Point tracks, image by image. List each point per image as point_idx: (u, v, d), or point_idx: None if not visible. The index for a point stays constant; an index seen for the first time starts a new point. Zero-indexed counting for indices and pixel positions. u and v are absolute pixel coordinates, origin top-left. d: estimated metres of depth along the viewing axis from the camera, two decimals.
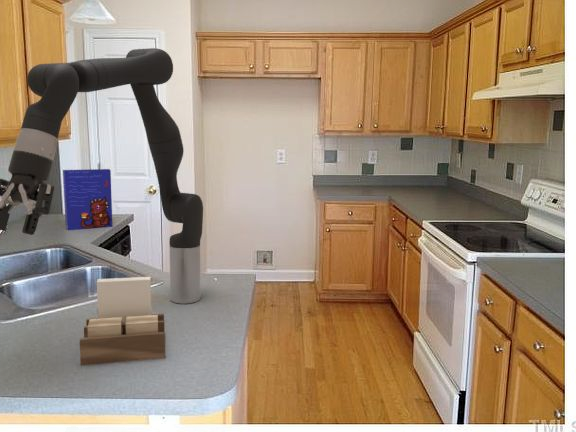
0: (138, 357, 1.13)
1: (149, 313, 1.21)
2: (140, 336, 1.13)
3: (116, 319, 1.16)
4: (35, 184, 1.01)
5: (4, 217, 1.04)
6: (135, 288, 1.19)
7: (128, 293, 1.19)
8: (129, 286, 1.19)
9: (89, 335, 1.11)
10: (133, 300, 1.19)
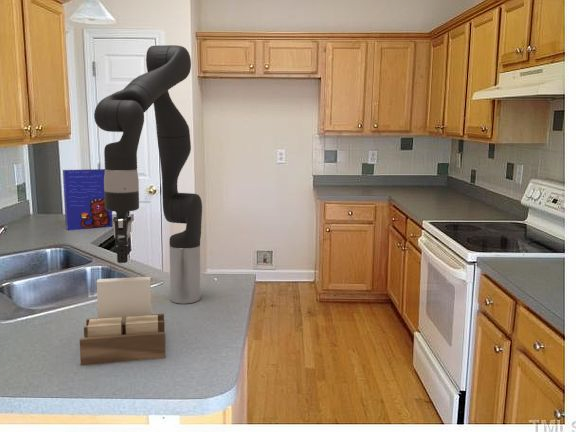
0: (138, 357, 1.13)
1: (149, 313, 1.21)
2: (140, 336, 1.13)
3: (116, 319, 1.16)
4: (117, 219, 1.13)
5: None
6: (135, 288, 1.19)
7: (128, 293, 1.19)
8: (129, 286, 1.19)
9: (89, 335, 1.11)
10: (133, 300, 1.19)
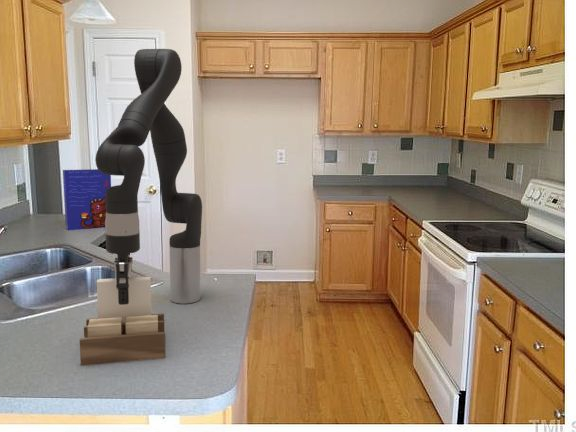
0: (138, 357, 1.13)
1: (149, 313, 1.21)
2: (140, 336, 1.13)
3: (116, 319, 1.16)
4: (118, 262, 1.14)
5: None
6: (135, 288, 1.19)
7: None
8: (129, 286, 1.19)
9: (89, 335, 1.11)
10: (133, 300, 1.19)
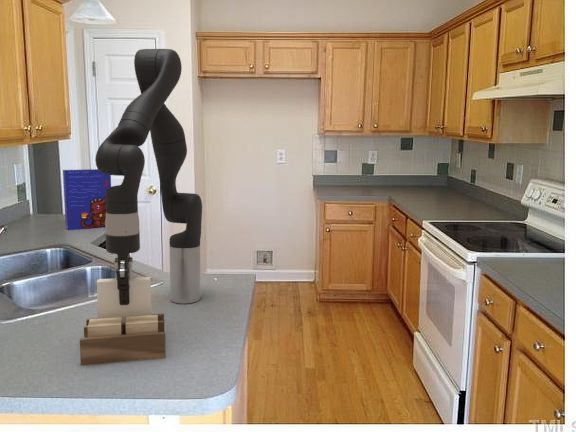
0: (138, 357, 1.13)
1: (149, 313, 1.21)
2: (140, 336, 1.13)
3: (116, 319, 1.16)
4: (118, 264, 1.14)
5: None
6: (136, 288, 1.19)
7: None
8: None
9: (89, 335, 1.11)
10: (133, 300, 1.19)
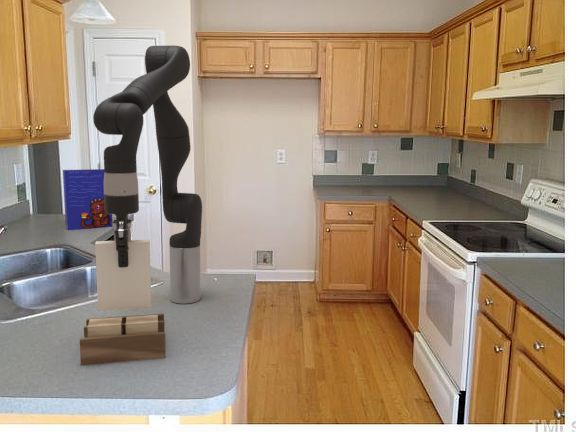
0: (138, 357, 1.13)
1: (148, 276, 1.19)
2: (140, 336, 1.13)
3: (116, 319, 1.16)
4: (116, 224, 1.13)
5: None
6: (134, 250, 1.18)
7: None
8: None
9: (89, 335, 1.11)
10: (132, 262, 1.18)
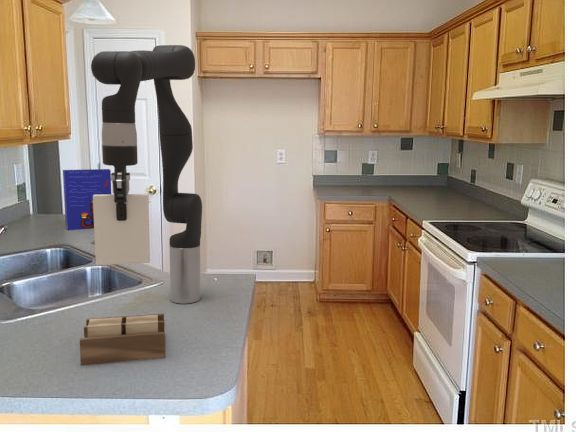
0: (138, 357, 1.13)
1: (147, 231, 1.17)
2: (140, 336, 1.13)
3: (116, 319, 1.16)
4: (115, 175, 1.11)
5: None
6: (133, 203, 1.16)
7: None
8: (127, 201, 1.15)
9: (89, 335, 1.11)
10: (130, 216, 1.16)
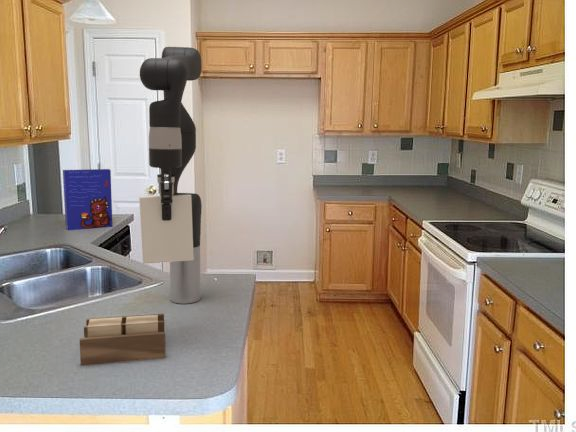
0: (138, 357, 1.13)
1: (190, 230, 1.23)
2: (140, 336, 1.13)
3: (116, 319, 1.16)
4: (162, 177, 1.16)
5: None
6: (177, 204, 1.21)
7: None
8: None
9: (89, 335, 1.11)
10: (174, 216, 1.21)
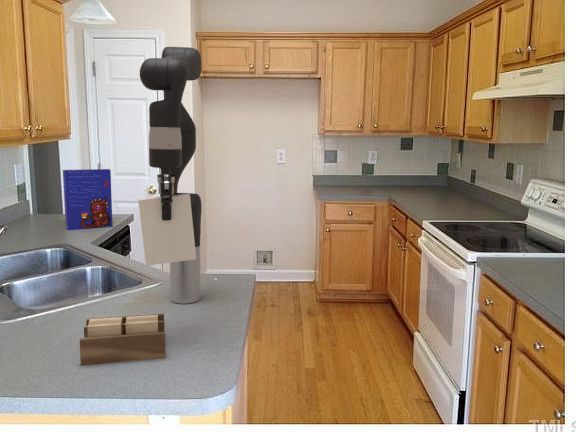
0: (138, 357, 1.13)
1: (191, 229, 1.23)
2: (140, 336, 1.13)
3: (116, 319, 1.16)
4: (162, 177, 1.16)
5: None
6: (176, 204, 1.21)
7: None
8: None
9: (89, 335, 1.11)
10: (174, 216, 1.21)
